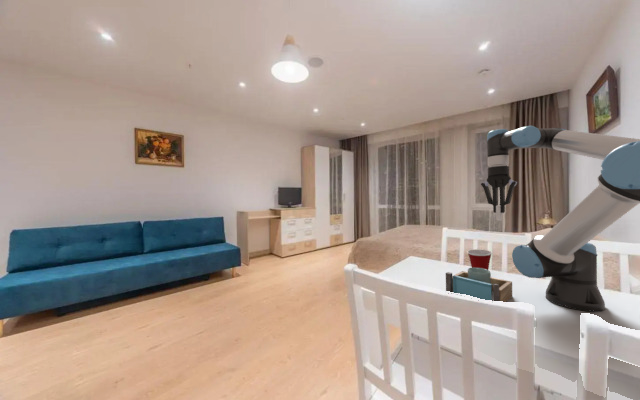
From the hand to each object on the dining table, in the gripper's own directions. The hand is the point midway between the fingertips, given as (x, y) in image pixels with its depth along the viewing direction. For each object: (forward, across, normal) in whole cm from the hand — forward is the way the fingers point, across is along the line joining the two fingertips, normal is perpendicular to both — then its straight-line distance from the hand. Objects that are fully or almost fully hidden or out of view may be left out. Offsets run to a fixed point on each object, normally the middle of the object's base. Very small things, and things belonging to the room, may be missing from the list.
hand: (499, 220), depth 106 cm
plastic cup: (+30, +12, -11) cm, 34 cm away
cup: (+30, +3, +15) cm, 33 cm away
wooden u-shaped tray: (+29, +3, +15) cm, 33 cm away
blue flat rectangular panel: (+29, +3, +22) cm, 36 cm away
